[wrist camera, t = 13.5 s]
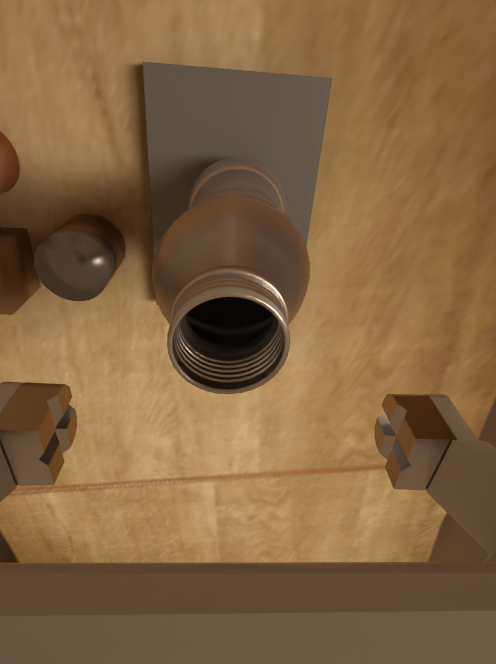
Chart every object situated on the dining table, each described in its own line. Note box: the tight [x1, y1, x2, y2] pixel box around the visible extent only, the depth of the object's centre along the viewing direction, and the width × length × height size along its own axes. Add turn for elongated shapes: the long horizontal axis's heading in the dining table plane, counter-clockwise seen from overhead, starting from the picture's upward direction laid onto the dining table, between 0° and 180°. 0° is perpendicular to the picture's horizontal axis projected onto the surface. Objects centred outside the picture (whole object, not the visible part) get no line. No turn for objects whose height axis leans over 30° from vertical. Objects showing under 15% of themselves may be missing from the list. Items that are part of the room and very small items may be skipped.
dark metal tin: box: [34, 214, 125, 301], centre depth 29 cm, size 5×5×5 cm
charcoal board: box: [143, 62, 332, 305], centre depth 30 cm, size 17×12×1 cm
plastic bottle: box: [153, 156, 310, 394], centre depth 20 cm, size 6×7×20 cm
